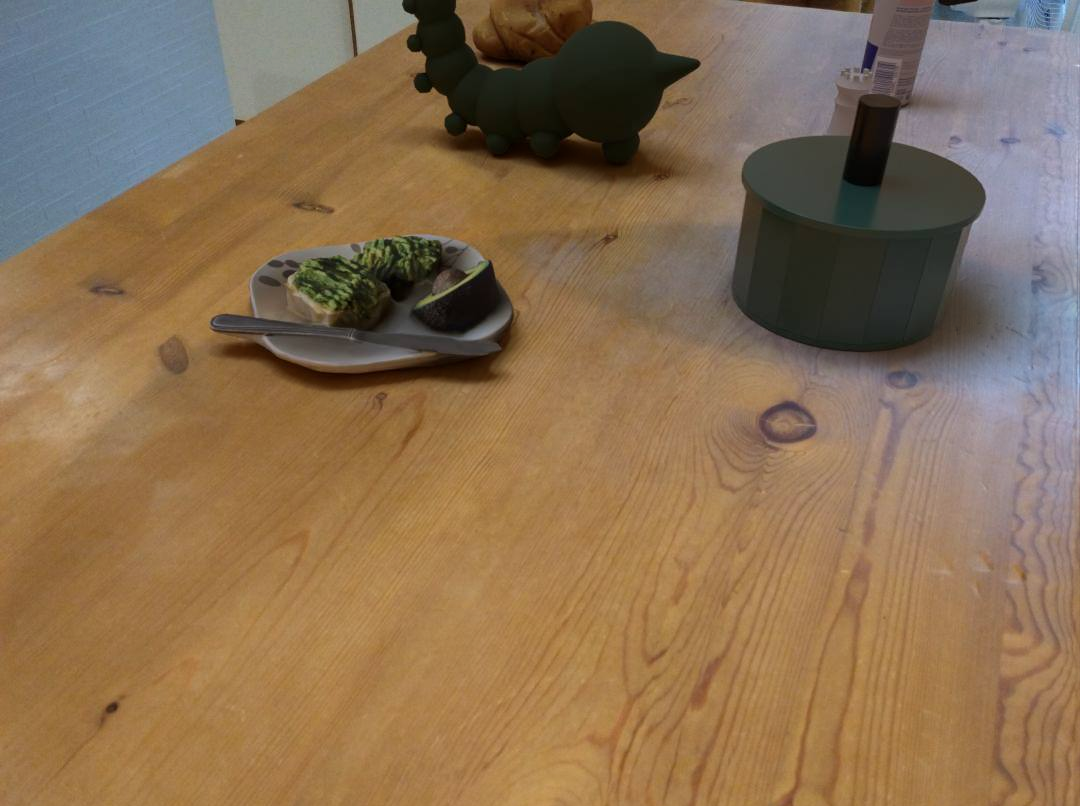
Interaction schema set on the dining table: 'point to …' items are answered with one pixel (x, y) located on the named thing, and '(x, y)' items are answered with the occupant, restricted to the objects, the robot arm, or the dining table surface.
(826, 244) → the pot
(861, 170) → the lid
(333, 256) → the avocado toast plate
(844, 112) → the rook chess piece
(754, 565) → the dining table surface
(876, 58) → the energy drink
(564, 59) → the toy figurine
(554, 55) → the bread roll
